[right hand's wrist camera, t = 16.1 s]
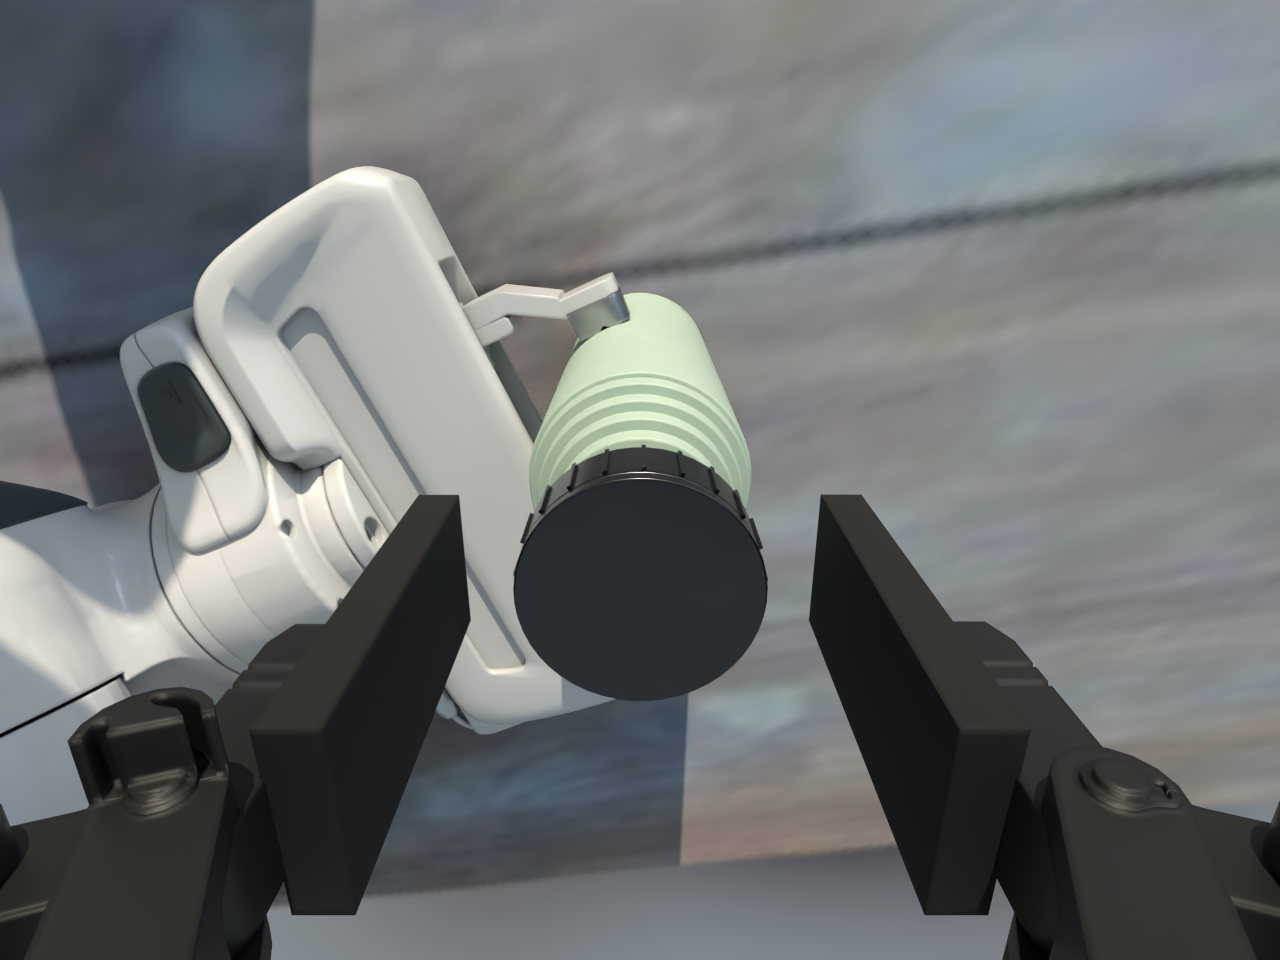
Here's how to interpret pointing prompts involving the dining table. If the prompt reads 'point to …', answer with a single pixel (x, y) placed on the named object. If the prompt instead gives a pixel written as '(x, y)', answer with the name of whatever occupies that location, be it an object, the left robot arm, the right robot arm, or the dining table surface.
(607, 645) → the cap
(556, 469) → the bottle
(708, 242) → the dining table surface
